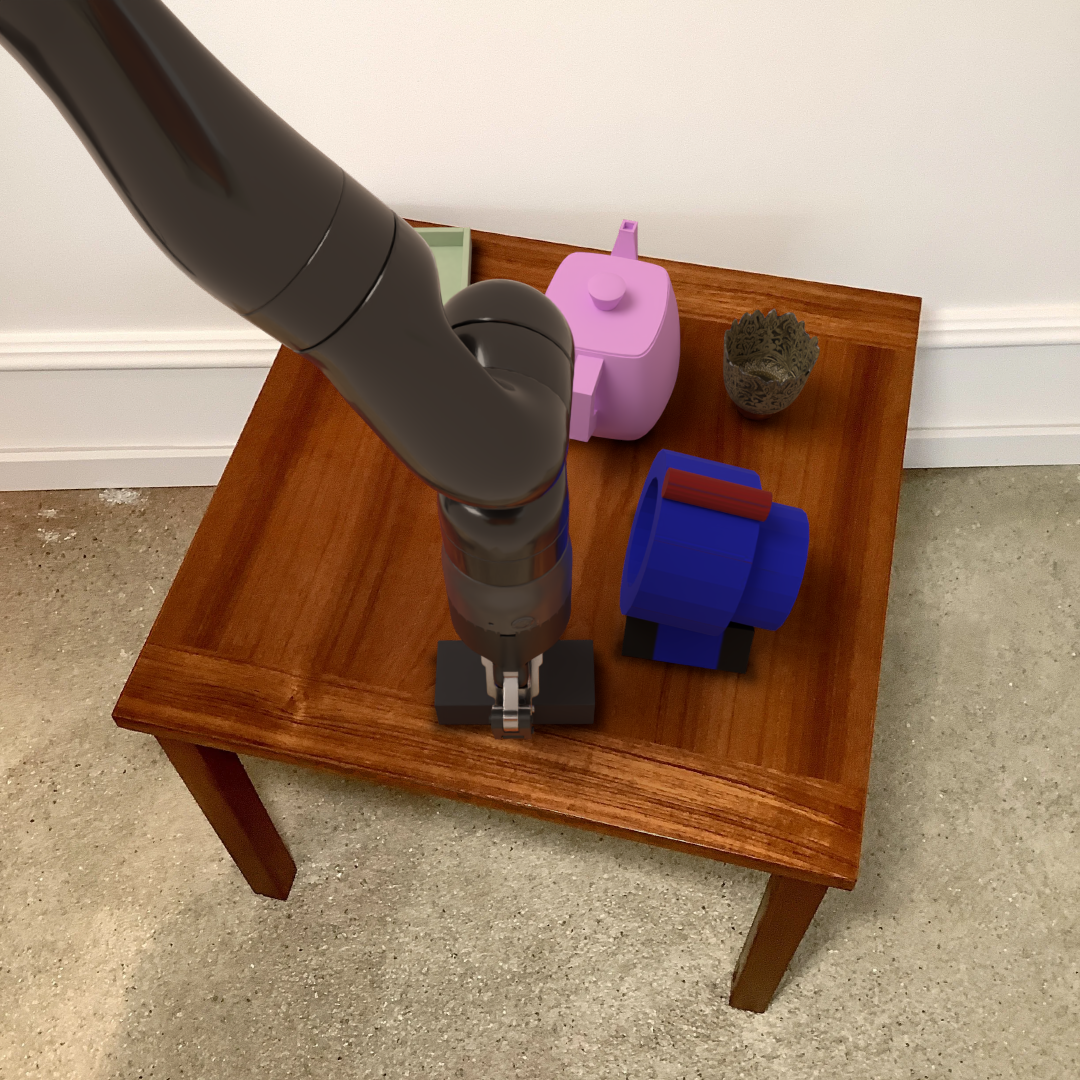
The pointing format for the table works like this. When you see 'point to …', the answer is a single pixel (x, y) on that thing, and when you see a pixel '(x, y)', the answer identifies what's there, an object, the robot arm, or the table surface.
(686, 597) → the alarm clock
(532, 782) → the table surface
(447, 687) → the black rectangular block
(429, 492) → the table surface
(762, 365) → the cup
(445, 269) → the pale green tray
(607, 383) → the teapot
